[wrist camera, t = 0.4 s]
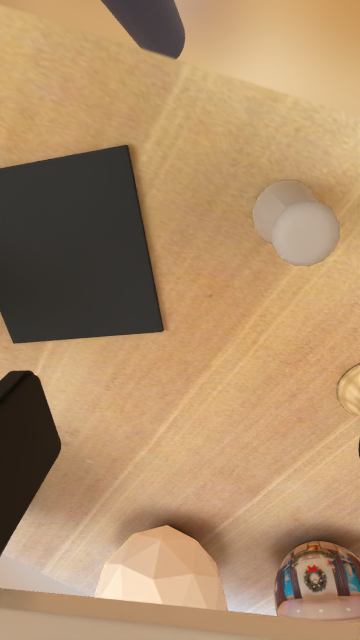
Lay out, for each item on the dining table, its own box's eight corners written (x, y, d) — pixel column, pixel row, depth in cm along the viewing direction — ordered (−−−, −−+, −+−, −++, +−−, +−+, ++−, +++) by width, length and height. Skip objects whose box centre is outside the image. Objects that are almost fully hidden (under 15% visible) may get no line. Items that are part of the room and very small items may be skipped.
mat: (-50, 178, 37) (-54, 178, 36) (127, 145, 33) (126, 144, 32) (15, 341, 45) (13, 343, 44) (163, 329, 41) (162, 331, 40)
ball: (190, 488, 62) (257, 571, 44) (188, 590, 64) (252, 711, 46) (82, 514, 54) (110, 627, 36) (83, 630, 56) (110, 794, 38)
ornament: (388, 538, 51) (444, 674, 38) (339, 587, 58) (371, 718, 44) (293, 506, 51) (316, 631, 37) (255, 560, 58) (262, 682, 44)
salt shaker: (262, 248, 35) (277, 293, 24) (242, 195, 33) (248, 215, 22) (319, 224, 34) (366, 260, 22) (301, 167, 32) (343, 173, 20)
